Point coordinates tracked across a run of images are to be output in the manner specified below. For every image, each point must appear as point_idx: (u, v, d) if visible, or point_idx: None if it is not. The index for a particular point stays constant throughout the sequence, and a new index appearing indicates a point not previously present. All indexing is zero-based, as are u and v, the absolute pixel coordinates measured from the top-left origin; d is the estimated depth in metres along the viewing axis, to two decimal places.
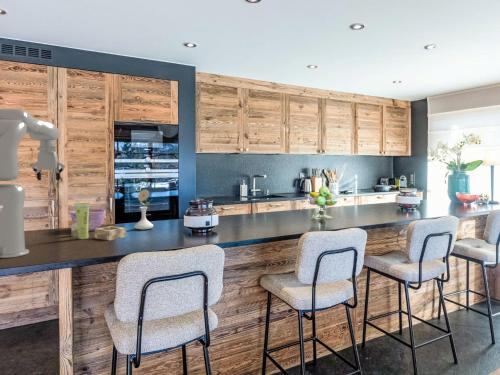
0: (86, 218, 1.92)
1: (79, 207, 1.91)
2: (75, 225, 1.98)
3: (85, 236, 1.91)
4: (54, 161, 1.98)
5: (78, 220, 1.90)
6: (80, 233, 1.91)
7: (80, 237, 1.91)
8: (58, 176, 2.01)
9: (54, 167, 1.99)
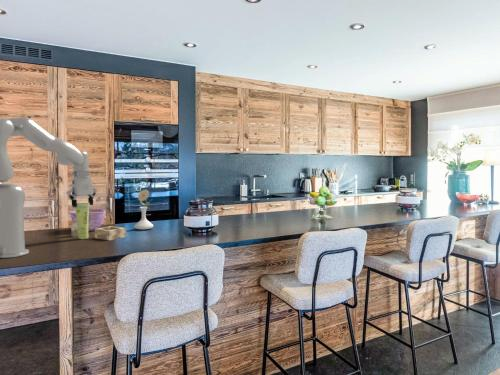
0: (86, 218, 1.92)
1: (79, 207, 1.91)
2: (75, 225, 1.98)
3: (85, 236, 1.91)
4: (91, 186, 1.94)
5: (78, 220, 1.90)
6: (80, 233, 1.91)
7: (80, 237, 1.91)
8: (92, 201, 1.97)
9: (92, 192, 1.94)
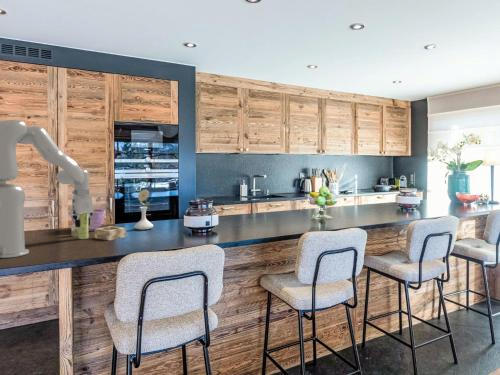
0: (86, 218, 1.92)
1: None
2: None
3: (85, 236, 1.91)
4: (92, 204, 1.94)
5: None
6: (80, 233, 1.91)
7: (80, 237, 1.91)
8: None
9: (92, 210, 1.94)
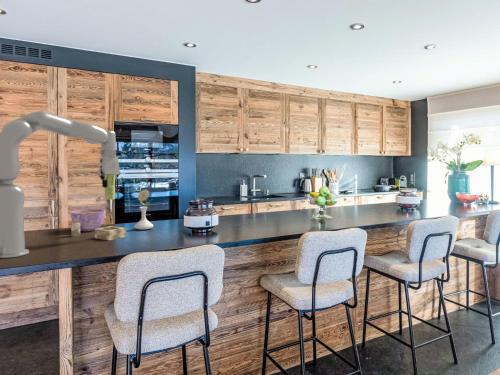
0: (113, 179, 1.93)
1: None
2: (75, 225, 1.98)
3: (112, 197, 1.93)
4: (118, 165, 1.96)
5: None
6: (107, 193, 1.92)
7: (107, 197, 1.92)
8: (115, 182, 1.97)
9: (118, 171, 1.96)
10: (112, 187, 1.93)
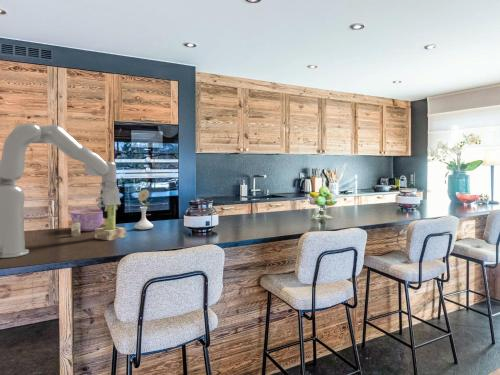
0: (113, 209, 1.94)
1: None
2: (75, 225, 1.98)
3: (112, 227, 1.94)
4: (118, 196, 1.97)
5: None
6: (107, 224, 1.93)
7: (107, 228, 1.93)
8: None
9: (119, 202, 1.97)
10: (112, 218, 1.94)
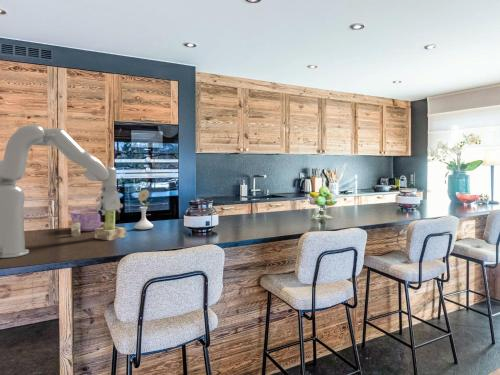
0: (113, 217, 1.94)
1: None
2: (75, 225, 1.98)
3: None
4: (119, 201, 1.97)
5: (105, 219, 1.93)
6: None
7: None
8: None
9: (119, 207, 1.97)
10: (112, 226, 1.94)
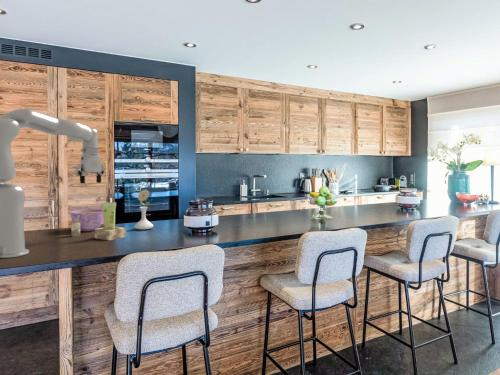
0: (113, 217, 1.94)
1: (106, 207, 1.93)
2: (75, 225, 1.98)
3: None
4: (100, 163, 1.96)
5: (105, 219, 1.93)
6: None
7: None
8: (100, 178, 1.98)
9: (100, 169, 1.96)
10: (112, 226, 1.94)
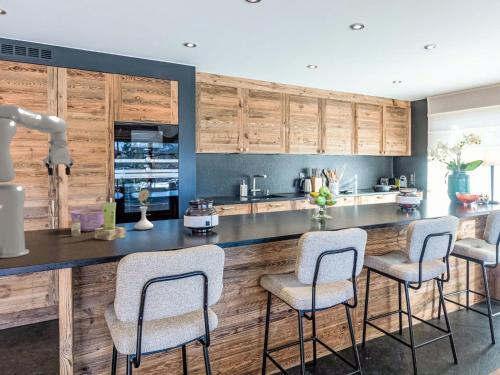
0: (113, 217, 1.94)
1: (106, 207, 1.93)
2: (75, 225, 1.98)
3: None
4: (68, 155, 1.97)
5: (105, 219, 1.93)
6: None
7: None
8: None
9: (69, 161, 1.97)
10: (112, 226, 1.94)
